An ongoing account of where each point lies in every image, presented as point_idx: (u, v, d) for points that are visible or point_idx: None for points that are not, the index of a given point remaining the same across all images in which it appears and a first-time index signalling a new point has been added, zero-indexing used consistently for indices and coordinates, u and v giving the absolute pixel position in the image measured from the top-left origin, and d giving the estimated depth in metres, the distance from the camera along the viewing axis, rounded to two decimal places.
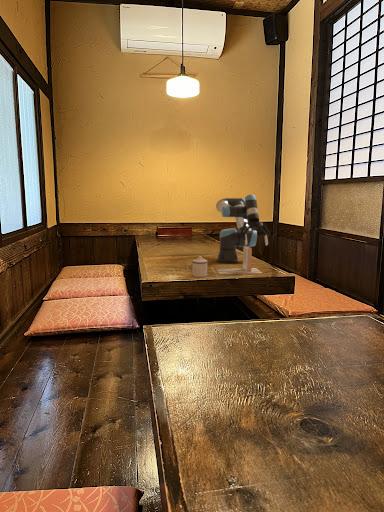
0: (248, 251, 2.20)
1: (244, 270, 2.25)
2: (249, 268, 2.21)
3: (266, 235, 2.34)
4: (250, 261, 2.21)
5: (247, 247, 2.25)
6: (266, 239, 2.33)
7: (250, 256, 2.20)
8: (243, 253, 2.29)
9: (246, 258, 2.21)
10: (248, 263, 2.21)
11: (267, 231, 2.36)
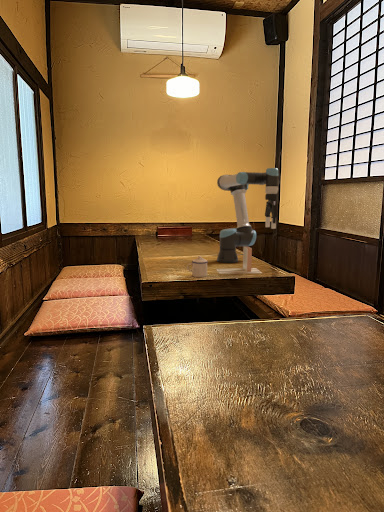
0: (248, 251, 2.20)
1: (244, 270, 2.25)
2: (249, 268, 2.21)
3: (269, 217, 2.36)
4: (250, 261, 2.21)
5: (247, 247, 2.25)
6: (269, 222, 2.36)
7: (250, 256, 2.20)
8: (243, 253, 2.29)
9: (246, 258, 2.21)
10: (248, 263, 2.21)
11: None
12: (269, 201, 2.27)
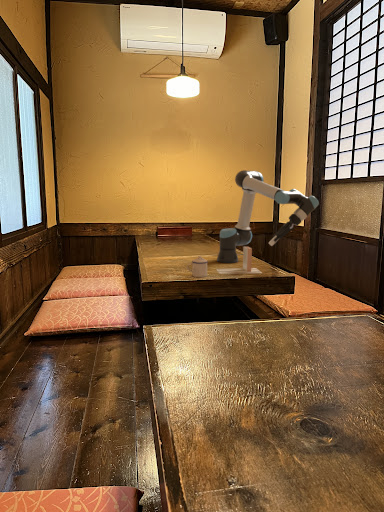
0: (248, 251, 2.20)
1: (244, 270, 2.25)
2: (249, 268, 2.21)
3: None
4: (250, 261, 2.21)
5: (247, 247, 2.25)
6: (274, 242, 2.25)
7: (250, 256, 2.20)
8: (243, 253, 2.29)
9: (246, 258, 2.21)
10: (248, 263, 2.21)
11: None
12: (290, 221, 2.24)
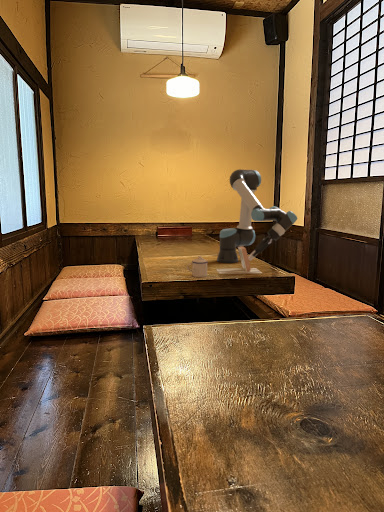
0: (243, 251, 2.19)
1: (244, 270, 2.25)
2: (248, 267, 2.21)
3: None
4: (247, 260, 2.21)
5: (241, 247, 2.25)
6: (253, 257, 2.25)
7: (246, 256, 2.20)
8: (239, 254, 2.29)
9: (243, 258, 2.21)
10: (246, 263, 2.21)
11: None
12: (269, 236, 2.24)
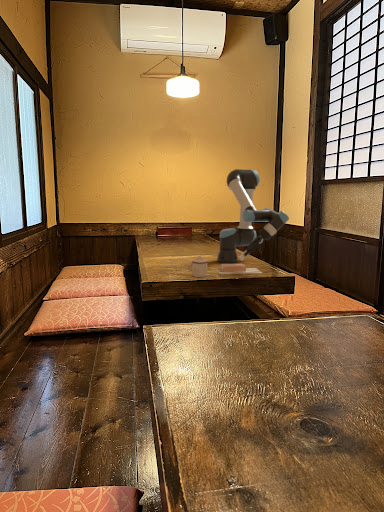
0: (226, 270, 2.20)
1: None
2: (243, 268, 2.21)
3: None
4: (236, 267, 2.21)
5: (221, 267, 2.26)
6: None
7: (231, 268, 2.21)
8: None
9: None
10: (238, 269, 2.21)
11: None
12: (260, 236, 2.24)
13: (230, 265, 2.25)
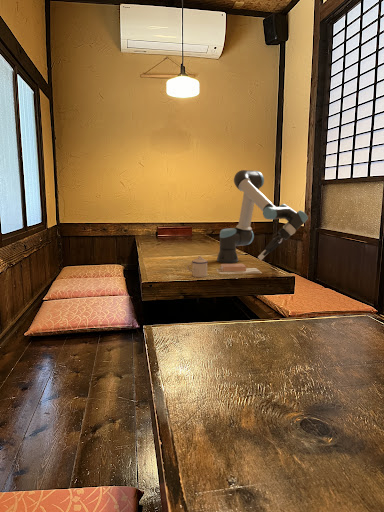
0: (226, 270, 2.20)
1: None
2: (243, 268, 2.21)
3: None
4: (236, 267, 2.21)
5: (221, 267, 2.26)
6: (264, 256, 2.26)
7: (231, 268, 2.21)
8: None
9: None
10: (238, 269, 2.21)
11: None
12: (279, 236, 2.25)
13: (230, 265, 2.25)
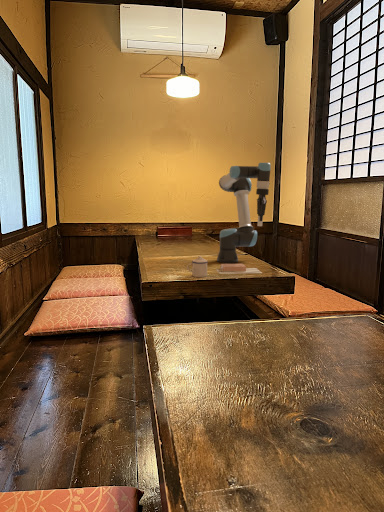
0: (226, 270, 2.20)
1: None
2: (243, 268, 2.21)
3: None
4: (236, 267, 2.21)
5: (221, 267, 2.26)
6: None
7: (231, 268, 2.21)
8: None
9: None
10: (238, 269, 2.21)
11: None
12: (260, 196, 2.27)
13: (230, 265, 2.25)
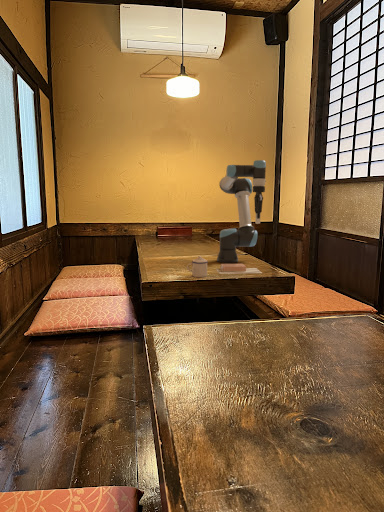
0: (226, 270, 2.20)
1: None
2: (243, 268, 2.21)
3: None
4: (236, 267, 2.21)
5: (221, 267, 2.26)
6: (259, 218, 2.30)
7: (231, 268, 2.21)
8: None
9: None
10: (238, 269, 2.21)
11: None
12: (256, 193, 2.28)
13: (230, 265, 2.25)
